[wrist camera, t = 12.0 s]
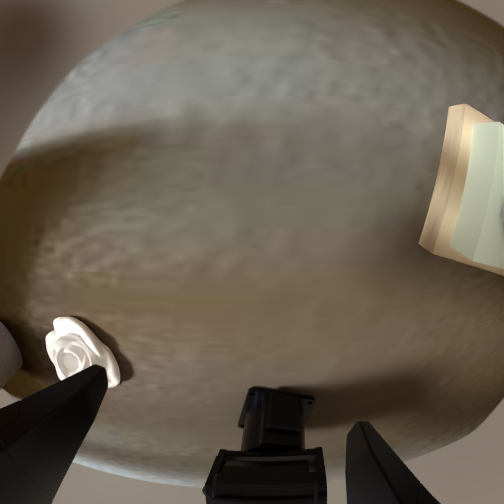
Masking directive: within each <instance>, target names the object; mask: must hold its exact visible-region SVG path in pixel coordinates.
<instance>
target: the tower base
mask: <svg viewBox="0 0 504 504" xmlns="http://www.w3.org/2000/svg"><path fill="white" fill-rule="evenodd" d="M488 122H494V121H492V120H491V119H489V118H488V117H486V116H485V115H483V114H482V113H480V112H478V111H477V110H475V109H474V108H472V107H470V106H469V105H467V104H460V105H455V106H450V107H449V111H448V119H447V126H446V132H445V139H444V144H443V150H442V155H441V160H440V165H439V170H438V174H437V179H436V183H435V187H434V191H433V195H432V199H431V203H430V207H429V210H428V214H427V217H426V221H425V224H424V227H423V231H422V234H421V237H420V240H419V243H418V244H420V245H421V246H422V247H424V248H425V249H426V250H428V251H429V252H430V253H432V254H435V255H438V256H442V257H445V258H449V259H452V260H455V261H459V262H462V263H465V264H468V265H472V266H475V267H478V268H481V269H484V270H487V271H491V272H494V273H497V274H500V275H503V276H504V269H502V268H498V267H494V266H490V265H486V264H482V263H478V262H474V261H471V260H470V259H469V258H467V257H466V256H464V255H463V254H461V253H460V252H458V251H457V250H455V249H454V248H452V247H451V246H450V244H451V240H452V237H453V233H454V230H455V226H456V222H457V218H458V214H459V210H460V206H461V201H462V197H463V192H464V187H465V181H466V176H467V170H468V164H469V157H470V150H471V141H472V132H473V123H488Z"/></svg>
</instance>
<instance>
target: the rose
mask: <svg viewBox="0 0 504 504" xmlns="http://www.w3.org/2000/svg"><path fill="white" fill-rule="evenodd" d="M53 324H54V329H55V330H53V331H51V332H50V333H48V334H47V336H46V348H47V352H48V355H49V357H50V359H51V361H52V362H53V363H54V365H55V367H56V371H57V374H58V377H59V378H60V380H63V379H65V378H67V377H69V376H71V375H73V374H75V373H77V372H79V371H81V370H84V369H86V368H88V367H90V366H92V365H94V364H98V365H100V366H102V367H104V368H105V369H106V372H107V378H108V387H115V386H116V385H118V384H119V383H120V371H119V367H118V364H117V361H116V359H115V357H114V355H113V353H112V352H111V350H110V349H109V348H108V347H107V346H106V345H105V344H103V343H102V342H101V341H100V340H99V339H98V338H97V337H96V336H95V334H94V333H93V332H92V331H91V330H90V329H89V328H88V327H87V326H86V325H85V324H84V323H83V322H81V321H80V320H78V319H76V318H74V317H70V316H66V317H58V318H56V319H55V320H54V323H53Z"/></svg>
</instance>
